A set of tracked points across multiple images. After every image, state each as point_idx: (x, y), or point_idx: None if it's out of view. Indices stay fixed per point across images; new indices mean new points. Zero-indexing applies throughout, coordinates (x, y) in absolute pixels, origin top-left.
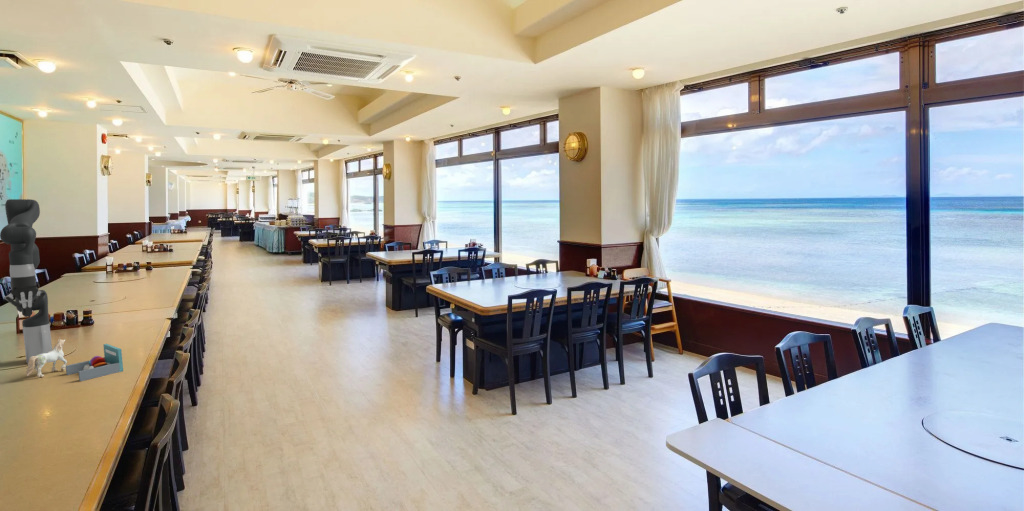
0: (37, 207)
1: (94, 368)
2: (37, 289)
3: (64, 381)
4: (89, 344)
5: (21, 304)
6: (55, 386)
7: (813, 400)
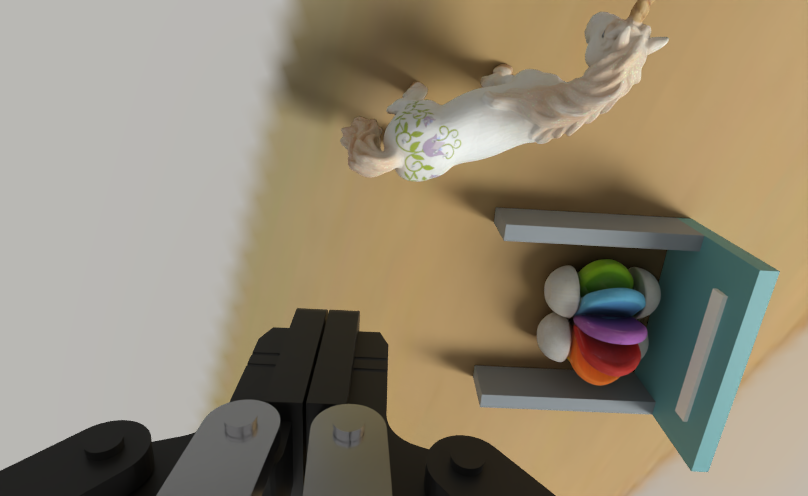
0: None
1: (544, 406)
2: None
3: (437, 317)
4: None
5: (200, 486)
6: None
7: None
